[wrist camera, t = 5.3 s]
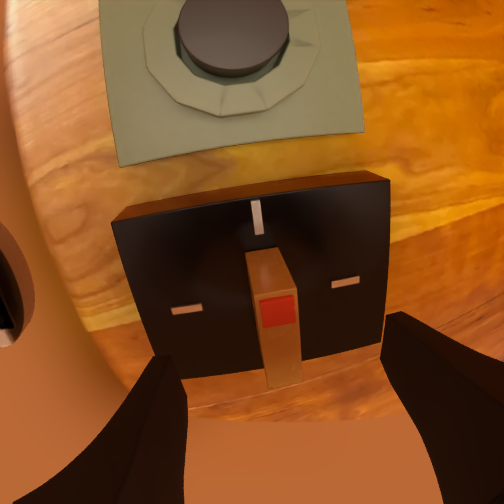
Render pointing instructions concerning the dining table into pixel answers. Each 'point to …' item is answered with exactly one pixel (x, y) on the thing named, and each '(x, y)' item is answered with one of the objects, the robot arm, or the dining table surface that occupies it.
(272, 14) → the bell button
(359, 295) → the lock plate
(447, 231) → the dining table surface
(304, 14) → the doorbell
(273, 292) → the red-tipped wooden block
